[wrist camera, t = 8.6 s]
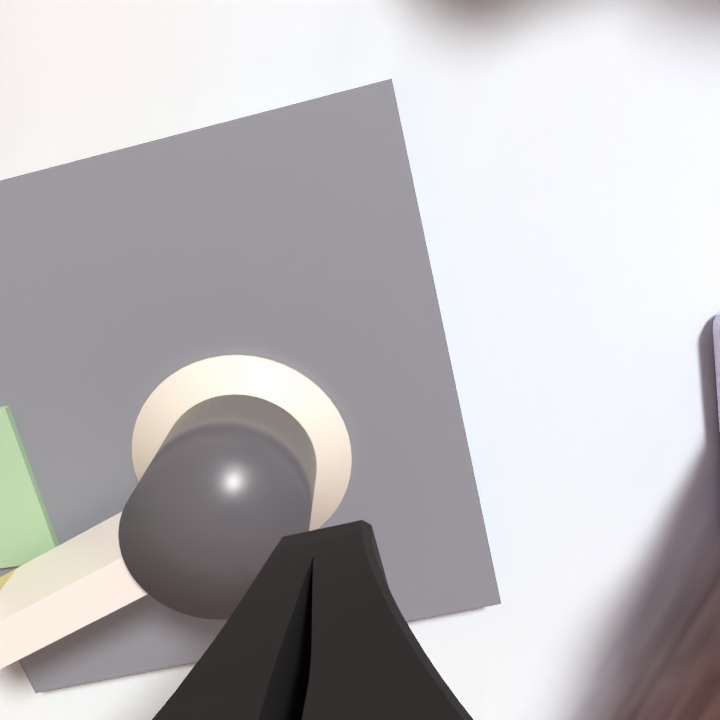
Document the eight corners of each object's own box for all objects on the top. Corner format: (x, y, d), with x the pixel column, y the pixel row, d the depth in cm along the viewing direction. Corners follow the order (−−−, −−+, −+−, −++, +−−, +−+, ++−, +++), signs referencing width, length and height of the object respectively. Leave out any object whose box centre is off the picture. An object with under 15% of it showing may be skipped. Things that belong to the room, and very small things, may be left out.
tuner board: (390, 80, 17) (392, 78, 16) (495, 583, 23) (502, 607, 21) (-177, 228, 19) (-212, 235, 18) (48, 670, 24) (33, 697, 23)
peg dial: (262, 366, 18) (239, 427, 15) (345, 489, 20) (341, 572, 16) (-38, 534, 20) (-123, 625, 17) (56, 636, 22) (-5, 740, 18)
